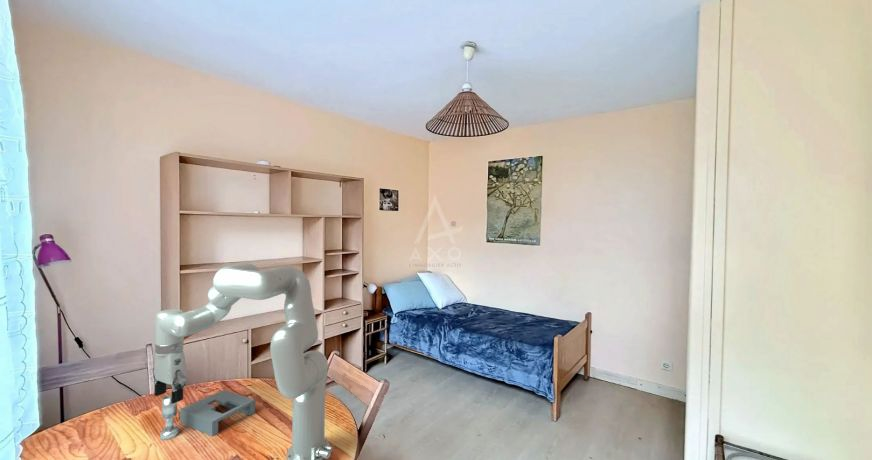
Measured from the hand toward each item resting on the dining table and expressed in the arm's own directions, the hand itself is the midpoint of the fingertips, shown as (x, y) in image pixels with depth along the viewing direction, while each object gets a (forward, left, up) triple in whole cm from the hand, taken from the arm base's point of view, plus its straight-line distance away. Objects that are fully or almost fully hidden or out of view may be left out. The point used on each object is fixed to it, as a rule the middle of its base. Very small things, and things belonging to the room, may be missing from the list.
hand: (168, 397), depth 115 cm
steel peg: (0, 0, -13) cm, 13 cm away
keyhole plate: (-4, -14, -13) cm, 20 cm away
